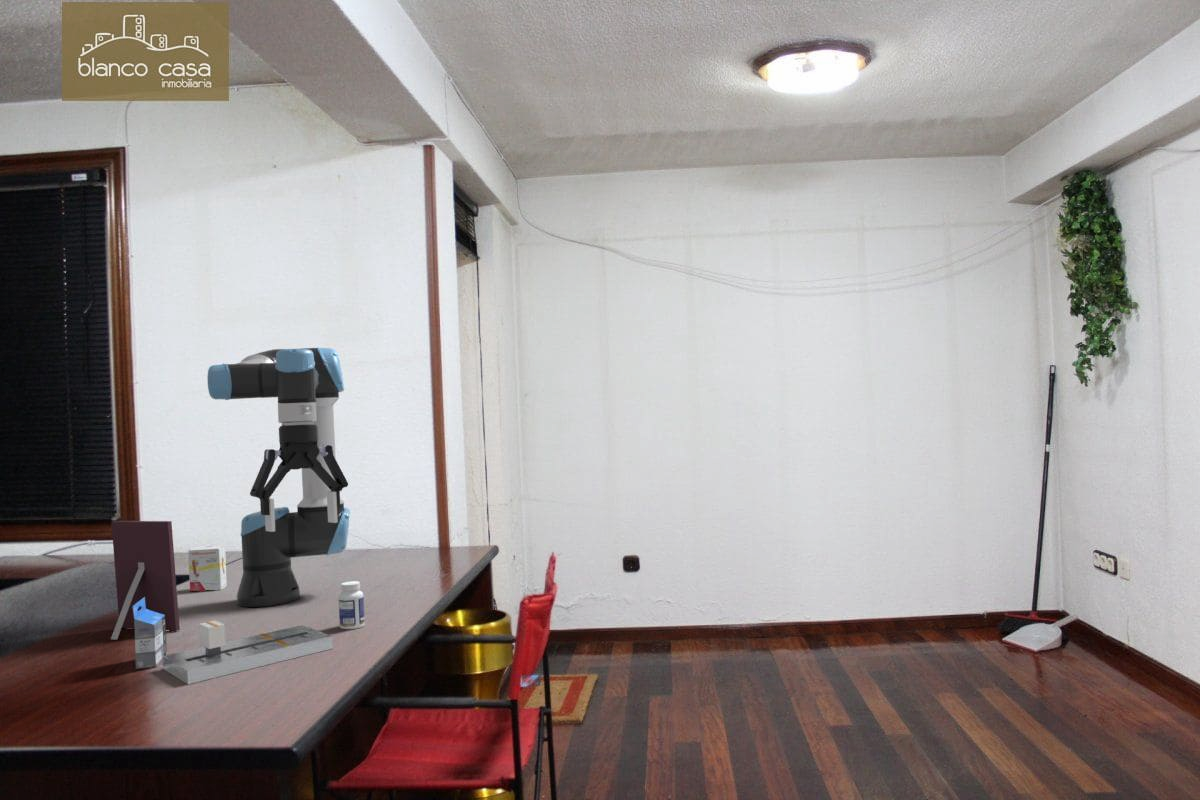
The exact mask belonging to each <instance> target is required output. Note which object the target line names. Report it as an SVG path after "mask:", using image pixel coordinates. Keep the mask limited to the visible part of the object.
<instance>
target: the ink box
mask: <svg viewBox="0 0 1200 800" xmlns="http://www.w3.org/2000/svg"><path fill="white" fill-rule="evenodd" d="M187 552H188V553H187V554H188V574H189V592H190V591H200V592H207V591H206V590H215V591H222V590H224V589H225V588H226V587H227V584H228V583H227V560H226V559H227V557H226V556H227V555H226V545H224V544H221V545H220V544H217V545H202V546H201V545H198V546H194V547H192V548H190V549H188V551H187Z"/></svg>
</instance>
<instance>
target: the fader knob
mask: <svg viewBox="0 0 1200 800" xmlns="http://www.w3.org/2000/svg"><path fill="white" fill-rule="evenodd" d="M198 629H199V645H201V646H202V647H205V652H206V657H210V656H214V655H218V654H221V646H225V645H226V642H227V641H226V624H225V623H222V622H220V621H218V620H210V621H209V620H207V621H205V622H201V623H199V624H198Z"/></svg>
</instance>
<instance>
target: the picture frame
mask: <svg viewBox="0 0 1200 800" xmlns="http://www.w3.org/2000/svg"><path fill="white" fill-rule="evenodd" d="M172 522H173V521H172V520H114V521H113V520H112V521H111V522H110V523H111V535H112V547H113V548H112V549H113V561H114V572H115V585H116V586H115V587H116V597H117V598H116V600H117V610H118V617H117V618H118V619H117V621H116V623H115V627H114V629H113V632H112V634H111V637H110V640H118V639H119V635H120V632H121V631H122V629H121V628H134V615H133V608H132V606H133V605H135V604H136V603H137V602H139V601H140V600H141V599H143V598H144V597H145V606H146V609H148V610H151V611H153V612H157V613H160V614H163V615H165V625H166V630H169V631H177V630H180V616H179V615H180V613H179V605H178V604H179V602H178V601H179V600H178V589H177V588H178V587H177V577H176V576H177V575H176V564H175V563H176V562H175V552H174V551H175V550H174V537H173V525H172ZM139 610H141V607H140V606H139V608H138V611H139ZM177 632H178V631H177Z"/></svg>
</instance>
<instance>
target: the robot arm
mask: <svg viewBox="0 0 1200 800" xmlns="http://www.w3.org/2000/svg"><path fill="white" fill-rule="evenodd" d="M340 362H341V361H340V358H339V354H338V352H337V350H336V349H334V348H332V347H331V348H329V347H309V348H306V347H305V348H304V347H303V348H275V349H269V350H264V351H261V352H256V353H253V354H250V355H248V356H246V357H244V358H243V359H241V361H240V362H237V363H222V364H212V365H209V367H208V369H207V389H208V394H209V397H210V398H211V399H213V400H225V401H229V400H241V399H259V398H261V399H263V398H264V399H266V398H271V399H272V398H277V418H278V419H277V421H278V423H279V424H281V425H280V426H279V427H278V441H279V449H277V450H275V449H272V448H270V449H269V448H267V449H265V450H264V451H263V452H264V453H263V454H264V455H263V461H262V464H261V466H260V468H259V471H258V472H257V475H256V478H255V480H254V482H253V485H252V487H251V489H250V492H249V495H250V496H251V497H254V498H258V499H259V501H260V502H259V503H260V506H259V507H260V511H255V512H252V513H250V514H249V513H248V514H247V515H245V516H244V517H243V518H242V519H241V525H240V526H241V528H240V537H241V552H242V553H241V554H242V575H241V576H242V577H241V579H240V583H239V586H238V587H239V588H238V590H237V593H236V605H237V606H238V607H245V608H247V607H249V608H251V607H252V608H254V607H255V608H257V607H269V606H277V605H282V604H286V603H290V602H293V601H296V600H298V599H299V598H300V597H301V596H300V592H301V591H300V587H299V584H298V581H297V579H296V576H295V574H294V571H293V568H292V558H302V557H312V556H323V555H326V556H329V555H335V554H341V553H344V551H345V550H346V548H347V546H348V545H347V544H348V536H349V524H350V513H351V512H350V508H348V507H344V506H345V505H344V500H343V499H341V492H342V491H343V489H344V488H347V487H348V486H349V482H348V481H347V478H346V477H345V475H344V472H343V471H342V469H341V468H340V465H339V464H338V461H337V458H336V456H337V455H336V439H335V417H334V413H335V412H334V405H335V403H336V402H337V401H338V400H339V399H340V396H339V395H340V394H339V393H342V392H344V391H345V386H344V378H343V372H342V368H341V363H340ZM278 457H279V459H281V462H280V463H279V465H278V466H277V468H276V470H275V472H274V473H273V474H272V476H271V477H270V475H271V471H272V470H273V467H274V465H275V462H276V461H277V460H278ZM300 469H301V481H302V499H301V500H300V501H299V503H297V507H296V508H297V511H295V512H292V511H291V512H290V509H289V507H288V506H283V507H275V498H271V496H272V495H273V494H274V492H275V491H276V489H277V488H278V487H279V485H280V483H281V482H282V481H283V480H284V478H285V477H286V475H287V474H288V473H289V472H290V471H291V470H294V471H295V470H300ZM269 477H270V479H269ZM268 479H269V480H268Z"/></svg>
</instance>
